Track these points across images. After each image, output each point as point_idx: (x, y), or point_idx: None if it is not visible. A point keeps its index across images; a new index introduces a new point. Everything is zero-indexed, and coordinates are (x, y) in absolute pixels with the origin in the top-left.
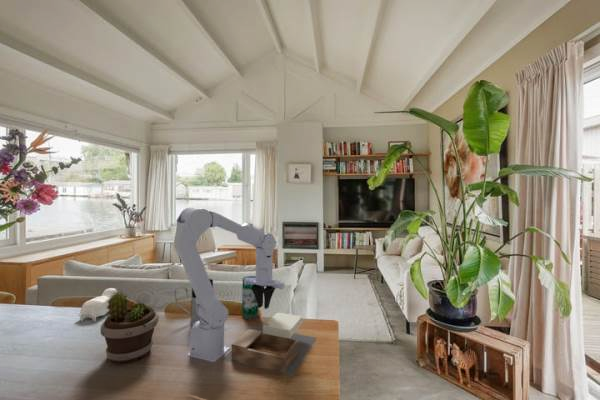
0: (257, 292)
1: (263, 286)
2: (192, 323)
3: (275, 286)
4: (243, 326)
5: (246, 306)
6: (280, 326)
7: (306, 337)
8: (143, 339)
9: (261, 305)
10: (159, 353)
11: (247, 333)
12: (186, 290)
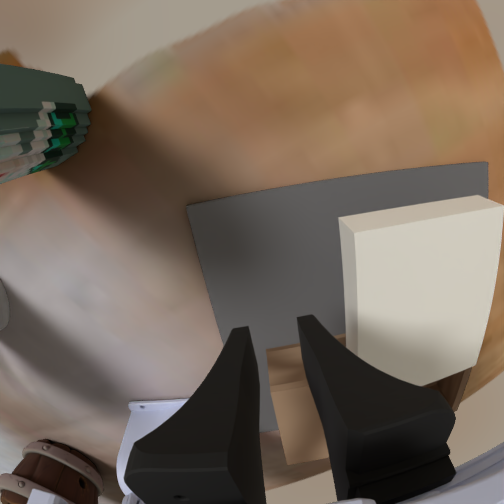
0: (263, 500)
1: (237, 463)
2: None
3: (475, 480)
4: (113, 237)
5: (20, 174)
6: (435, 366)
7: (457, 180)
8: (92, 500)
9: (252, 349)
10: (98, 451)
11: (288, 416)
12: None
